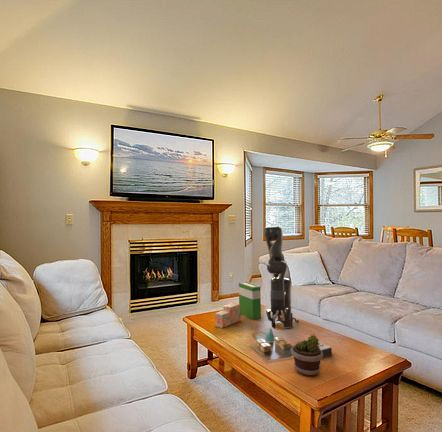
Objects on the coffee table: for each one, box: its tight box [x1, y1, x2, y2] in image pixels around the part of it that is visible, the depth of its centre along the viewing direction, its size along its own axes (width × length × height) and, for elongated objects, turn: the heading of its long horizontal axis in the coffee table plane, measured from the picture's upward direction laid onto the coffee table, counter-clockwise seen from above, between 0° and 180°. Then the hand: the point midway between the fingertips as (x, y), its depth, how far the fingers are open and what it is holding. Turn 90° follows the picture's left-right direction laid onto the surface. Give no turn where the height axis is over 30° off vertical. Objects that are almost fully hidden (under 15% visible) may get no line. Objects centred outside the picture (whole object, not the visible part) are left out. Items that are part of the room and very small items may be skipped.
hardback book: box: [238, 281, 262, 321], centre depth 233 cm, size 18×7×24 cm, turn 26°
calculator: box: [297, 340, 333, 358], centre depth 170 cm, size 11×4×15 cm
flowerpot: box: [290, 333, 324, 377], centre depth 148 cm, size 14×15×20 cm
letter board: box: [251, 336, 294, 361], centre depth 171 cm, size 22×20×4 cm
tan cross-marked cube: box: [274, 320, 284, 331], centre depth 167 cm, size 4×4×3 cm
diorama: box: [255, 327, 275, 342], centre depth 189 cm, size 12×20×9 cm, turn 24°
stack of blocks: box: [214, 302, 241, 329], centre depth 217 cm, size 21×6×12 cm, turn 136°
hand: (278, 327), depth 167 cm, fingers closed on tan cross-marked cube, 4 cm apart
